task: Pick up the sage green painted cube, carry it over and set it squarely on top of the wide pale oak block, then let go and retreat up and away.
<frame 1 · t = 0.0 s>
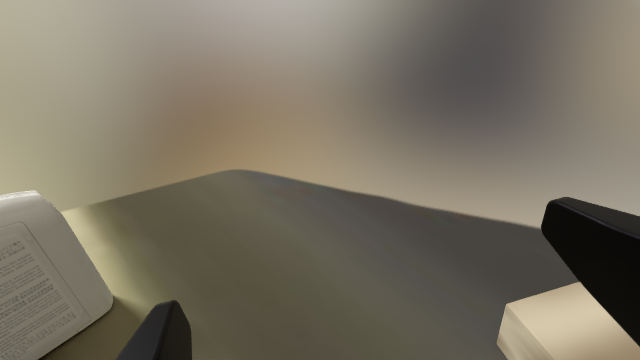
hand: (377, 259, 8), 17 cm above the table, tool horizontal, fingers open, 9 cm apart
photo printer: (50, 338, 28), on the table
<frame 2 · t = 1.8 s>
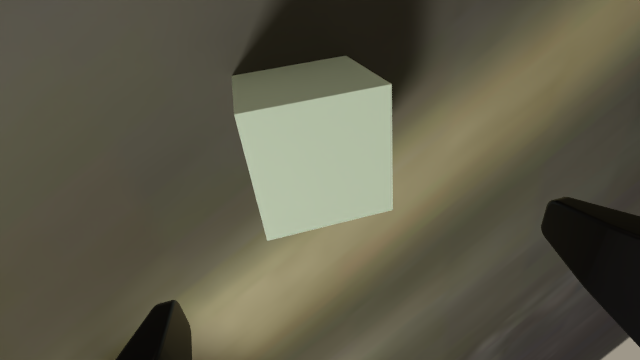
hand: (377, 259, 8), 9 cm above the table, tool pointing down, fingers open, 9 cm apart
sage cube: (298, 119, 16), on the table
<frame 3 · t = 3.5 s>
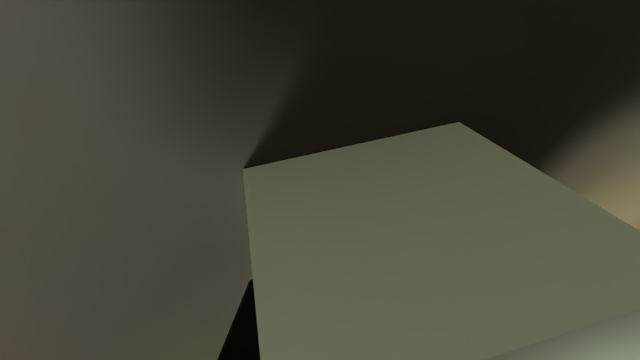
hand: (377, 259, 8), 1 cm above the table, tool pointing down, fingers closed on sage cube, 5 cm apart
sage cube: (362, 231, 9), on the table, touching gripper
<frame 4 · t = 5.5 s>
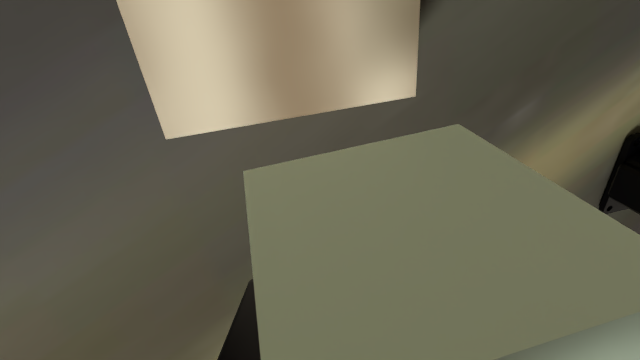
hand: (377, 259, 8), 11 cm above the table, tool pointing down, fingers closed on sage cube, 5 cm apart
sage cube: (362, 232, 9), point 10 cm above the table, touching gripper
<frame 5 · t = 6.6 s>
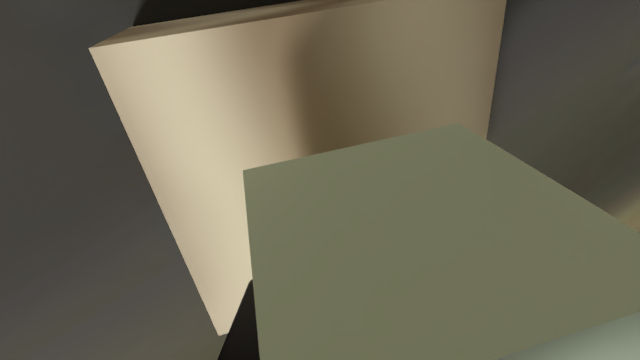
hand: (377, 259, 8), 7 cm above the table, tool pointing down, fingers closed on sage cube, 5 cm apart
oak block: (310, 139, 14), on the table
sage cube: (362, 232, 9), point 6 cm above the table, touching gripper
when the fingers open (6 cm above the table, at t = 7.5 s): sage cube drops 1 cm, resting on oak block.
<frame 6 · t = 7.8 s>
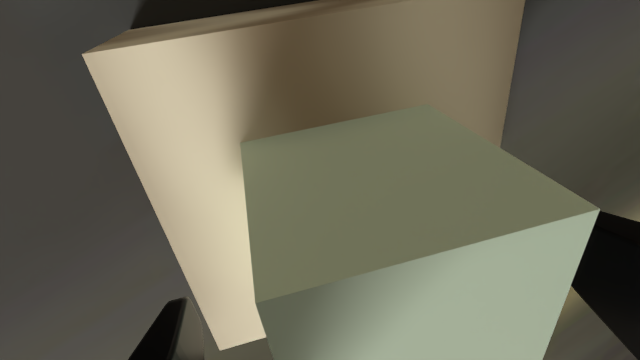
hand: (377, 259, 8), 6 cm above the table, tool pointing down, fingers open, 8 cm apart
oak block: (314, 146, 13), on the table
sage cube: (345, 201, 10), point 4 cm above the table, touching oak block
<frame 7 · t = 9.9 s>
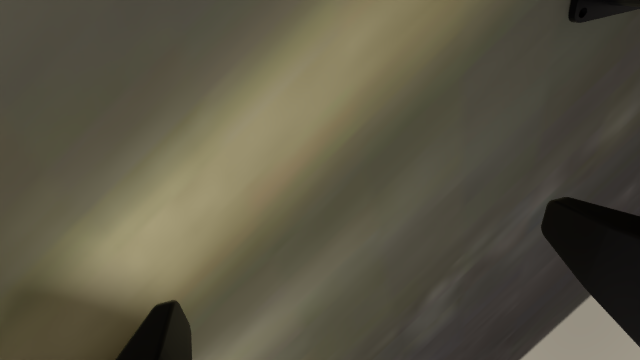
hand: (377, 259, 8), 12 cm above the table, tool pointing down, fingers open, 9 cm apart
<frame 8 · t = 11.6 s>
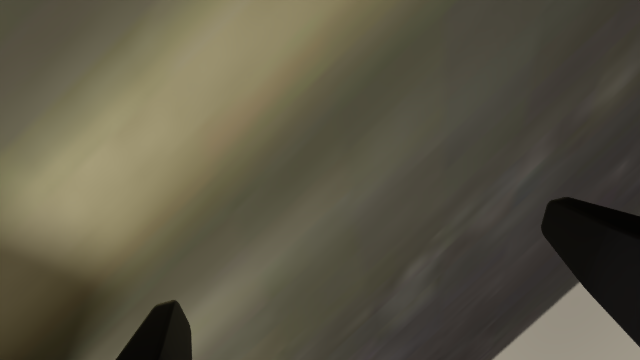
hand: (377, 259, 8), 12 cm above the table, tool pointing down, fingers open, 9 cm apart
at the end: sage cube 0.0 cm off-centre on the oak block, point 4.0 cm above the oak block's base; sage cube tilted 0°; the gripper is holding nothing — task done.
